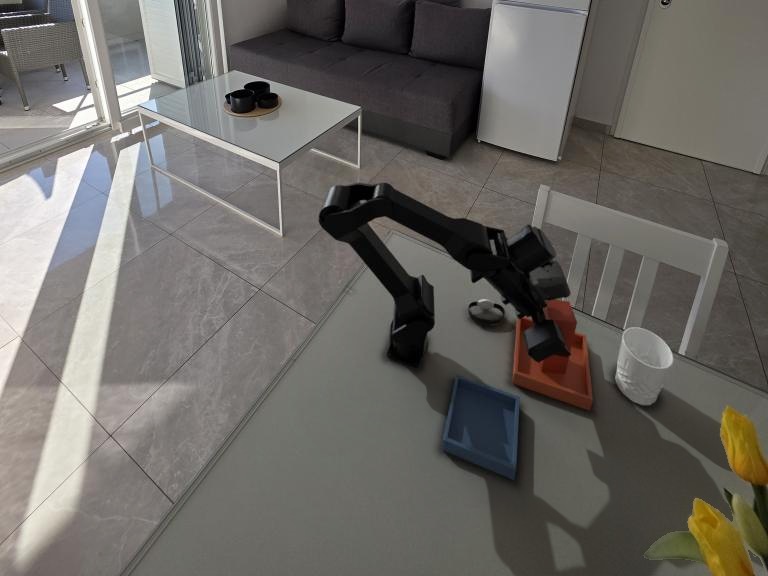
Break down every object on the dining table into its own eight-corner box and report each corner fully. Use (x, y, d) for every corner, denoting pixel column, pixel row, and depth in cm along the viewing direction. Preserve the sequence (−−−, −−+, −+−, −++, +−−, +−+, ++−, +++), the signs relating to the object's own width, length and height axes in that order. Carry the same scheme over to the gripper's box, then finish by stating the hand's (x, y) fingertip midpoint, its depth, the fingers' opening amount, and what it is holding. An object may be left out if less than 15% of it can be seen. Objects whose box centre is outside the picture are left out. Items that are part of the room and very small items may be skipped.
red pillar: (541, 371, 81) (551, 319, 77) (535, 349, 85) (544, 298, 81) (565, 374, 81) (577, 322, 76) (558, 351, 85) (569, 301, 81)
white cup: (667, 414, 75) (681, 373, 72) (619, 403, 76) (630, 363, 73) (650, 370, 82) (662, 331, 79) (606, 361, 84) (616, 323, 80)
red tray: (512, 383, 79) (514, 373, 78) (516, 324, 91) (518, 314, 90) (590, 410, 75) (592, 400, 74) (583, 345, 87) (586, 335, 86)
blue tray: (442, 450, 69) (443, 439, 68) (455, 383, 79) (456, 373, 78) (514, 480, 65) (516, 469, 65) (517, 406, 75) (519, 396, 75)
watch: (501, 309, 94) (503, 296, 93) (505, 328, 90) (507, 315, 89) (466, 306, 95) (468, 293, 94) (468, 324, 90) (470, 311, 89)
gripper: (561, 301, 67) (620, 361, 69) (532, 222, 84) (580, 272, 87) (504, 334, 70) (562, 390, 72) (488, 251, 87) (535, 298, 90)
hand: (560, 331), depth 80 cm, fingers open, 9 cm apart
